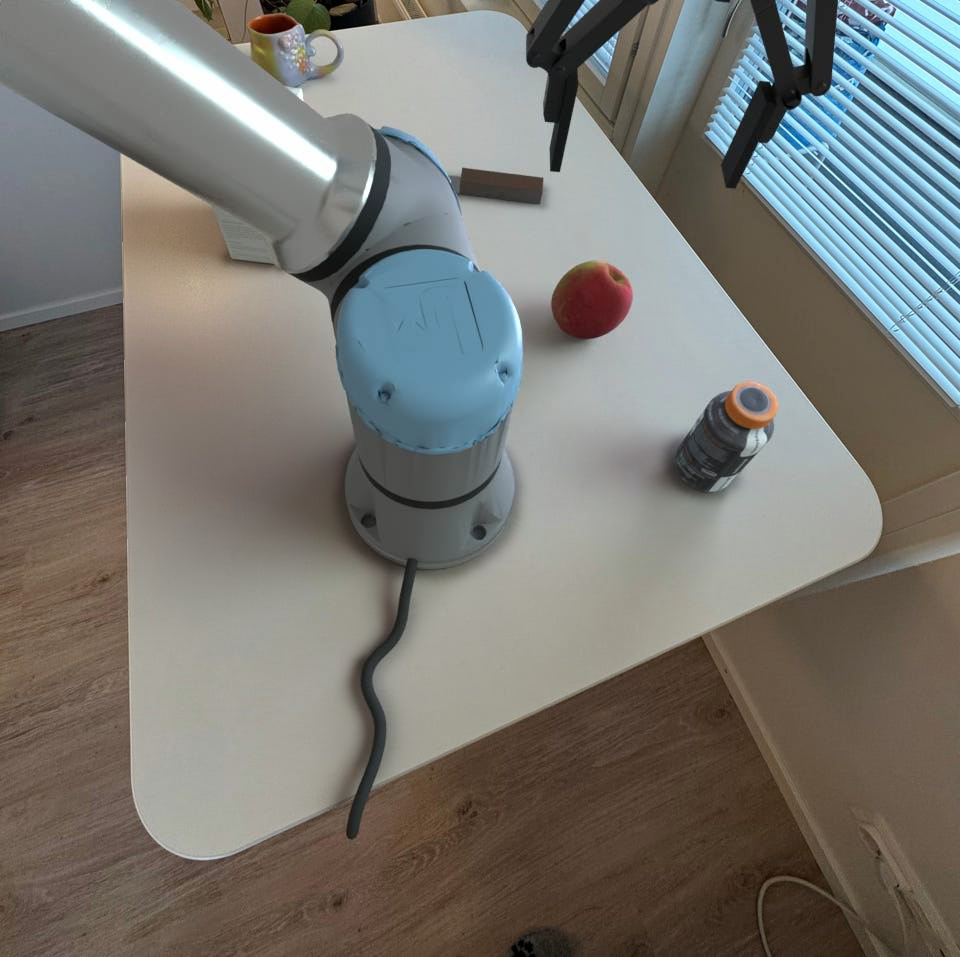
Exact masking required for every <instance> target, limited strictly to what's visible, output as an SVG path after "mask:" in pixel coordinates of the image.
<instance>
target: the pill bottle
mask: <svg viewBox="0 0 960 957" xmlns="http://www.w3.org/2000/svg"><path fill="white" fill-rule="evenodd" d="M778 412H779V401H778V399H777V397H776V395H775V394H774V393H773V391H772V390H771V389H770V388H768V387H767V386H766V385H763V384H762V383H759V382H754V381H744V382H739V383H738V384H736V385H735V386H734V387H733V388H732V389H731V390H727V391H723V392H721V393H718V394H717V395H715V396H714V397H713V398H711V399H710V401H709V402H708V404H707V405H706V406H705V408H704V409H703V411H702V412H701V414H700V415H699V417H698V418H697V419H696V420H695V422H694V424H693V425H692V427H691V428H690V430H689V432H688V433H687V434H686V436H685V437H684V439H683V440H682V441H681V443H680V444H679V446H678V447H677V449H676V450H675V454H674V460H673V461H674V468H675V470H676V472H677V474H678V476H679V477H680V478H681V479H682V480H683V482H684V483H685V484H687V485H688V486H690V487H691V488H694V489H695V490H697V491H701V492H705V493H706V492H707V493H713V492H714V493H715V492H718V491H719V492H720V491H722V490H724V489H725V488H727V487H728V486H730V484H731V483H732V482H733V481H734V479H736V477H738V475H740V473H741V472H742V471H743V470H744V469H745V467H746V466H748V464H749V463H750V462H751V461H752V460H753V459H754V458H755V457H756V456H757V455H758V454H759V452H760V451H761V450H762V449H763V448H764V447H765V446H766V445H767V444H768V442H769V441H770V440H771V439H772V437H773V434H774V431H775V421H774V418H775V417H776V416H777V414H778Z"/></svg>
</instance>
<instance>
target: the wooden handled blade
mask: <svg viewBox="0 0 960 957" xmlns="http://www.w3.org/2000/svg"><path fill="white" fill-rule="evenodd" d="M460 173H461V174H460V176H458V175H451V174H449V175H448V174H447V175H448V177H449V178H450V180H451V185H452V186H453V187H454V188H455V191H456V194H459V195H461V196H462V195H463V196H470V197H471V196H472V197H479V198H489V199H495V200H496V199H497V200H504V201H512V202H513V201H514V202H520V203H529V204H537V205H541V203H542V198H543V193H544V192H543V191H544V177H543V176H533V175H525V174H517V173H509V172H501V171H493V170H485V169H476V168H469V167H462V168H461V172H460Z"/></svg>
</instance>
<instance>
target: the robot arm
mask: <svg viewBox="0 0 960 957" xmlns="http://www.w3.org/2000/svg"><path fill="white" fill-rule="evenodd" d="M585 1H586V0H546V2H545V3H544V5H543V7H542V9H541V10H540V12H539V13H538V15H537V16H536V18H535V19H534V21H533V23H532V24H531V26H530V28H529V29H528V31H527V32H526V35H525V61H526V64H527V65H528V66H529V67H530V68H532V69H538V68H541V69H542V70H544V71H545V72H546V73H547V78H546V83H545V90H544V96H543V102H542V106H543V107H542V114H543V120H544V122H545V123H550V124H551V123H552V124H553V128H552V134H551V137H550V138H551V139H550V144H549V172H551V173H552V172H553V173H561V169H562V165H563V159H564V156H565V150H566V145H567V140H568V137H569V132H570V128H571V127H570V126H571V122H572V117H573V112H574V109H575V103H576V99H577V95H578V90H579V73H578V72H579V71H578V69H579V68H580V67H581V66H582V65H583V64H584V63H585V62H586V61H588V59H590V58H591V57H592V56H593V55H594V54H595V53H596V52H598V51H599V50H600V49H601V48H602V47H603V46H604V45H605V44H606V43H607V42H609V41H610V40H611V39H612V38H613V37H614V36H615V35H616V34H617V33H619V32H620V31H621V30H622V29H623V28H624V27H625V26H626V25H628V23H630V22H631V21H632V20H633V19H634V18H635V17H636V16H637V15H638V14H640V13H641V12H642V11H643V10H644V9H645V8H646V7H647V6H652V5H655V4H656V3H657V2H659V0H598V1H597V2H596V3H595V4H594V5H593V6H592V7H590V9H589V10H587V12H585V14H584V15H583V16H581V17H580V18H579V19H578V20H577V21H576V22H575V23H574V24H573V25H572V26H571V27H570V28H569V29H568V30H567V28H568V27H569V25H570V24H571V22H572V21H573V19H574V18H575V17H576V15H577V13H578V12H579V10H580V9H581V7H582V6H583V4H584V3H585ZM714 1H715V2H718V3H727V4H730V3H731V0H714ZM749 2H750V4H751V8H752V12H753V15H754V18H755V22H756V24H757V27H758V31H759V36H760V38H761V41H762V43H763V44H762V45H763V47H764V51H765V54H766V57H767V61H768V63H769V68H770V70H771V74H772V77H773V82H772V83H771V81H767V80H759V81H758V83H757V84H756V87H755V90H754V92H753V93H752V94H753V95H752V96H751V99H750V101H749V103H748V104H747V108H746V110H745V111H744V114H743V116H742V118H741V120H740V123H739V125H738V127H737V129H736V131H735V133H734V135H733V137H732V140H731V142H730V144H729V146H728V148H727V151H726V153H725V154H724V156H723V159H722V161H721V163H720V167H721V173H722V177H723V182H724V187H725V189H734V190H736V189H737V186H738V184H740V183H739V182H740V181H741V178H742V176H743V175H744V172H745V171H746V168H747V167H748V165H749V163H750V161H751V158H752V157H753V155H754V153H755V150H756V149H757V146H758V145H759V144H769V142H770V141H772V139H773V138H774V137H775V135H776V133H777V130H778V129H779V128H780V125H781V123H782V121H783V119H784V117H785V115H786V113H787V111H792V110H795V109H796V108H798V107H799V106H800V105H801V103H802V101H803V96H806V95H810V94H811V95H812V96H813V97H822V96H824V95H826V93H828V92H829V90H831V87H832V81H833V69H834V57H835V46H836V44H835V43H836V31H837V22H838V21H837V20H838V9H839V0H806V6H805V7H806V9H805V30H804V32H805V33H804V52H803V53H804V54H803V64H801V65H797V66H794V64H793V60H792V56H791V52H790V49H789V45H788V42H787V38H786V34H785V31H784V27H783V23H782V20H781V16H780V12H779V9H778V4H777V0H749ZM566 30H567V31H566ZM565 31H566V32H565ZM0 85H1V86H3V87H5V88H6V89H8V90H10V91H12V92H13V93H15V94H17V95H18V96H20V97H22V98H23V99H25V100H27V101H29V102H31V103H32V104H35V105H36V106H38V107H40V108H41V109H43V110H45V111H47V112H48V113H50V114H52V115H54V116H55V117H56V118H58V119H60V120H62V121H63V122H65V123H67V124H69V125H71V126H73V127H75V129H78V130H80V131H81V132H82V133H85V134H87V135H88V136H90V137H92V138H93V139H95V140H97V141H99V142H100V143H102V144H104V145H106V146H107V147H109V148H110V149H112V150H114V151H117V152H118V153H120V154H122V155H123V156H124V157H126V158H128V159H130V160H132V161H134V162H135V163H137V164H139V165H141V166H142V167H144V168H146V169H148V170H150V171H151V172H153V173H154V174H156V175H158V176H160V178H161V177H162V178H163V179H165V180H167V181H169V182H170V183H172V184H174V185H175V186H177V187H179V188H180V189H183V190H184V191H186V192H188V193H189V194H191V195H193V196H194V197H196V198H198V199H200V200H201V201H203V202H204V203H206V204H208V205H210V206H211V207H212V206H214V207H215V208H217V209H219V210H221V211H222V212H224V213H226V214H228V215H229V216H231V217H233V218H235V219H236V220H238V221H240V222H242V223H243V224H245V225H247V226H249V227H250V228H252V229H254V230H256V231H257V232H259V233H261V234H263V236H264V240H265V244H266V248H267V252H268V255H269V257H270V259H271V261H272V262H273V263H274V264H273V265H274V266H275V267H276V268H277V269H280V270H281V271H283V272H284V273H286V274H288V275H290V276H292V277H294V278H295V279H297V280H299V281H301V282H302V283H304V284H307V285H308V286H310V287H312V288H314V289H316V290H317V291H318V292H321V293H322V294H323V295H324V296H325V298H326V299H327V301H328V306H329V311H330V318H331V323H332V328H333V335H334V340H335V346H334V347H335V348H334V349H335V362H336V366H337V367H336V368H337V372H338V375H339V380H340V383H341V385H342V388H343V390H344V392H345V395H346V400H347V406H348V410H349V415H350V422H351V426H352V431H353V436H354V441H355V448H354V450H353V452H352V454H351V456H350V458H349V461H348V464H347V467H346V472H345V477H344V478H345V479H344V497H345V498H344V499H345V504H346V507H347V511H348V514H349V518H350V520H351V523H352V525H353V527H354V529H355V531H356V533H357V534H358V535H359V536H360V538H361V539H362V541H364V542H365V543H366V545H367V546H368V547H369V548H370V549H372V550H373V551H374V552H376V553H377V554H378V555H380V556H381V557H383V558H384V559H386V560H388V561H390V562H393V563H394V564H398V565H401V566H403V567H405V569H404V573H403V578H402V582H401V587H400V592H399V597H398V603H397V604H398V605H397V611H396V617H395V621H394V625H393V627H392V630H391V631H390V633H389V635H388V636H387V637H386V639H385V640H384V641H383V642H382V643H381V644H380V645H379V646H378V647H377V648H375V649H374V650H373V651H372V653H370V655H369V656H368V657H367V659H366V660H365V662H364V665H363V666H362V670H361V673H360V689H361V693H362V695H363V698H364V702H365V703H366V705H367V707H368V709H369V712H370V714H371V716H372V721H373V727H374V728H373V729H374V730H373V740H372V746H371V751H370V754H369V758H368V761H367V764H366V767H365V769H364V771H363V774H362V777H361V780H360V782H359V784H358V787H357V789H356V792H355V795H354V797H353V800H352V803H351V807H350V810H349V813H348V818H347V823H346V829H345V833H346V834H345V835H346V837H347V839H348V840H351V841H352V840H354V839H357V836H358V835H359V833H360V827H361V822H362V818H363V813H364V810H365V806H366V804H367V801H368V798H369V796H370V793H371V791H372V788H373V785H374V783H375V780H376V778H377V775H378V772H379V770H380V766H381V764H382V760H383V756H384V753H385V748H386V740H387V730H388V729H387V719H386V718H387V717H386V715H385V711H384V709H383V706H382V704H381V702H380V700H379V698H378V696H377V694H376V691H375V689H374V688H375V687H374V684H373V677H374V672H375V670H376V668H377V666H378V664H380V662H381V661H382V660H383V659H384V658H385V657H386V656H387V655H388V654H389V653H390V652H391V651H392V650H393V649H394V648H395V647H396V646H397V644H398V643H399V642H400V640H401V638H402V637H403V634H404V632H405V629H406V626H407V622H408V617H409V611H410V604H411V598H412V593H413V588H414V583H415V577H416V575H417V574H416V573H417V569H419V570H441V569H447V568H452V567H456V566H459V565H461V564H464V563H466V562H470V561H471V560H473V559H475V558H477V557H478V556H479V555H481V554H482V553H484V552H485V551H486V550H487V549H489V548H490V547H491V546H492V545H494V543H495V542H496V540H497V539H498V538H499V537H500V536H501V534H502V533H503V531H504V529H505V527H506V525H507V523H508V521H509V518H510V515H511V512H512V509H513V504H514V500H515V491H516V490H515V487H516V486H515V476H514V471H513V466H512V462H511V460H510V458H509V455H508V453H507V450H506V449H505V446H506V440H507V436H508V432H509V427H510V423H511V418H512V413H513V409H514V404H515V403H516V400H517V397H518V393H519V389H520V387H521V378H522V377H523V370H524V364H523V356H524V352H523V344H524V343H523V330H522V325H521V321H520V316H519V313H518V311H517V308H516V307H515V304H514V302H513V300H512V298H511V296H510V295H509V293H508V292H507V290H506V289H505V288H504V286H503V285H502V284H501V282H500V281H498V280H497V278H496V277H495V276H494V275H492V273H490V272H489V271H488V270H485V269H484V270H481V269H480V266H479V263H478V260H477V257H476V254H475V252H474V249H473V246H472V243H471V240H470V237H469V234H468V231H467V228H466V224H465V222H464V219H463V214H462V209H461V204H460V200H459V197H458V193H456V191H455V188H454V187H453V186H452V185H451V180H450V178H449V177H448V174H447V172H446V170H445V169H444V167H443V166H442V163H440V160H439V159H438V158H437V157H436V155H435V154H434V153H433V152H432V151H431V149H429V147H428V146H426V145H425V144H424V143H423V142H421V141H420V140H419V139H418V138H416V137H415V136H412V135H411V134H409V133H408V132H405V131H403V130H400V129H398V128H394V127H391V126H387V125H383V126H381V128H374V127H373V126H372V125H370V124H369V123H368V122H367V121H366V120H365V119H363V118H362V117H360V116H358V115H356V114H353V113H348V112H347V113H341V114H336V115H332V116H328V117H324V116H323V115H321V114H320V113H318V112H317V111H316V110H315V109H314V108H313V107H311V106H310V105H309V104H307V103H306V102H305V100H304V101H302V100H301V99H300V98H299V97H297V96H296V95H295V94H294V93H292V92H291V91H290V90H289V89H287V88H286V87H285V86H284V85H282V84H281V83H280V82H279V81H277V80H276V79H275V78H274V77H272V76H271V75H270V74H269V73H268V72H266V71H265V70H264V69H263V68H261V67H260V66H259V65H258V64H256V63H255V62H254V61H253V60H252V58H250V57H249V56H248V55H247V54H245V53H244V52H243V51H242V50H240V49H239V48H238V47H237V46H235V44H233V43H231V42H230V41H229V40H228V39H226V38H225V37H224V36H223V35H222V34H220V32H218V31H216V30H215V29H214V28H213V27H212V26H210V25H209V24H208V23H207V22H205V21H204V20H203V19H202V18H200V17H199V16H198V15H197V14H195V13H194V12H193V11H191V9H190V8H188V7H187V6H185V5H184V4H183V3H182V2H180V1H179V0H0Z"/></svg>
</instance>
